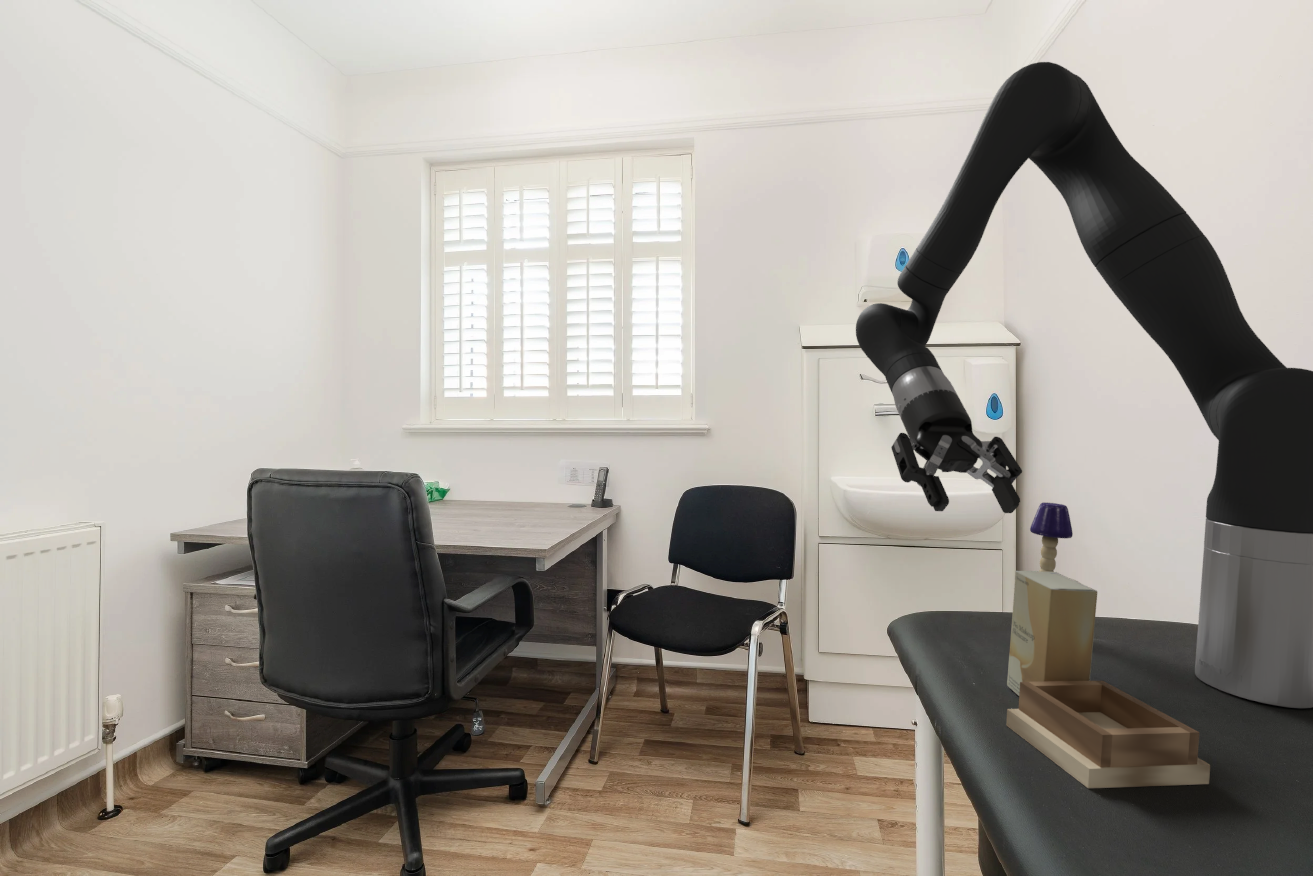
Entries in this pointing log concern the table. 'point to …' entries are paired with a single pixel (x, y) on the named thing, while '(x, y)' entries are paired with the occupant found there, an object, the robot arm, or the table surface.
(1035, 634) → the skincare box
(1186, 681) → the table surface
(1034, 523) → the toy lamp
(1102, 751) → the wooden tray
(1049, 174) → the robot arm
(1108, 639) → the table surface
